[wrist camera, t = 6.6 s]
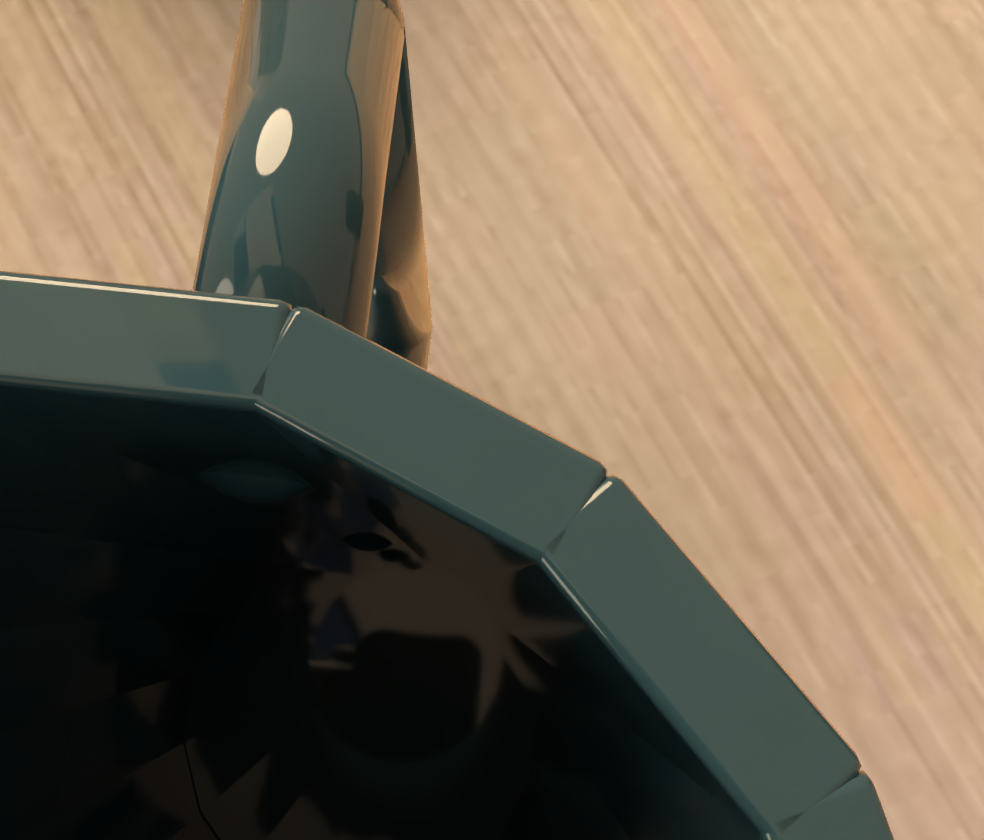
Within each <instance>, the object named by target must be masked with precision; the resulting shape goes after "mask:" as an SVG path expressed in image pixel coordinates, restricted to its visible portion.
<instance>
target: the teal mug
mask: <svg viewBox="0 0 984 840" xmlns="http://www.w3.org/2000/svg"><path fill="white" fill-rule="evenodd" d="M404 25H405V24H404V18H403V14H402V10H401V6H400V1H399V0H244V2H243V8H242V13H241V19H240V25H239V30H238V36H237V42H236V47H235V53H234V59H233V64H232V70H231V76H230V81H229V87H228V93H227V98H226V104H225V110H224V115H223V121H222V127H221V132H220V138H219V144H218V149H217V155H216V161H215V166H214V172H213V178H212V183H211V189H210V195H209V200H208V206H207V212H206V217H205V223H204V229H203V235H202V240H201V246H200V252H199V257H198V263H197V269H196V274H195V280H194V286H193V291H192V290H182V289H173V288H163V287H153V286H144V285H134V284H124V283H115V282H105V281H95V280H86V279H76V278H66V277H57V276H47V275H37V274H28V273H18V272H8V271H0V840H894V838H893V835H892V833H891V830H890V827H889V824H888V822H887V819H886V816H885V814H884V811H883V808H882V805H881V803H880V800H879V797H878V795H877V792H876V789H875V786H874V784H873V781H872V780H871V779H870V778H869V776H868V775H867V774H866V773H865V772H864V771H863V770H860V767H861V764H860V762H859V760H858V757H857V755H856V753H855V751H854V750H853V749H852V748H851V746H850V745H849V744H848V743H847V742H846V741H845V739H844V738H843V737H842V736H841V735H840V734H839V732H838V731H837V730H836V729H835V728H834V727H833V725H832V724H831V723H830V722H829V721H828V720H827V718H826V717H825V716H824V715H823V714H822V712H821V711H820V710H819V709H818V708H817V707H816V705H815V704H814V703H813V702H812V701H811V700H810V698H809V697H808V696H807V695H806V694H805V693H804V691H803V690H802V689H801V688H800V687H799V686H798V684H797V683H796V682H795V681H794V680H793V679H792V677H791V676H790V675H789V674H788V673H787V671H786V670H785V669H784V668H783V667H782V666H781V664H780V663H779V662H778V661H777V660H776V659H775V657H774V656H773V655H772V654H771V653H770V652H769V650H768V649H767V648H766V647H765V646H764V645H763V643H762V642H761V641H760V640H759V639H758V638H757V636H756V635H755V634H754V633H753V632H752V630H751V629H750V628H749V627H748V626H747V625H746V623H745V622H744V621H743V620H742V619H741V618H740V616H739V615H738V614H737V613H736V612H735V611H734V609H733V608H732V607H731V606H730V605H729V604H728V602H727V601H726V600H725V599H724V598H723V597H722V595H721V594H720V593H719V592H718V591H717V589H716V588H715V587H714V586H713V585H712V584H711V582H710V581H709V580H708V579H707V578H706V577H705V575H704V574H703V573H702V572H701V571H700V570H699V568H698V567H697V566H696V565H695V564H694V563H693V561H692V560H691V559H690V558H689V557H688V555H687V554H686V553H685V552H684V551H683V550H682V548H681V547H680V546H679V545H678V544H677V543H676V541H675V540H674V539H673V538H672V537H671V536H670V534H669V533H668V532H667V531H666V530H665V529H664V527H663V526H662V525H661V524H660V523H659V522H658V520H657V519H656V518H655V517H654V516H653V514H652V513H651V512H650V511H649V510H648V509H647V507H646V506H645V505H644V504H643V503H642V502H641V500H640V499H639V498H638V497H637V496H636V495H635V493H634V492H633V491H632V490H631V489H630V488H629V486H628V485H627V484H626V483H625V482H624V481H623V480H622V479H620V478H618V477H617V476H615V475H609V476H607V469H606V468H605V467H604V465H603V464H602V463H601V462H600V461H599V460H597V459H595V458H593V457H591V456H589V455H587V454H585V453H584V452H582V451H580V450H578V449H576V448H574V447H572V446H570V445H568V444H566V443H565V442H563V441H561V440H559V439H557V438H555V437H553V436H551V435H549V434H547V433H546V432H544V431H542V430H540V429H538V428H536V427H534V426H532V425H530V424H528V423H527V422H525V421H523V420H521V419H519V418H517V417H515V416H513V415H511V414H509V413H508V412H506V411H504V410H502V409H500V408H498V407H496V406H494V405H492V404H490V403H489V402H487V401H485V400H483V399H481V398H479V397H477V396H475V395H473V394H471V393H470V392H468V391H466V390H464V389H462V388H460V387H458V386H456V385H454V384H452V383H451V382H449V381H447V380H445V379H443V378H441V377H439V376H437V375H435V374H433V373H432V372H430V371H428V370H427V368H428V359H429V350H430V342H431V333H432V315H431V304H430V293H429V283H428V272H427V261H426V251H425V240H424V229H423V219H422V208H421V197H420V186H419V176H418V165H417V154H416V144H415V133H414V122H413V112H412V101H411V90H410V79H409V69H408V58H407V47H406V37H405V26H404Z"/></svg>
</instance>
